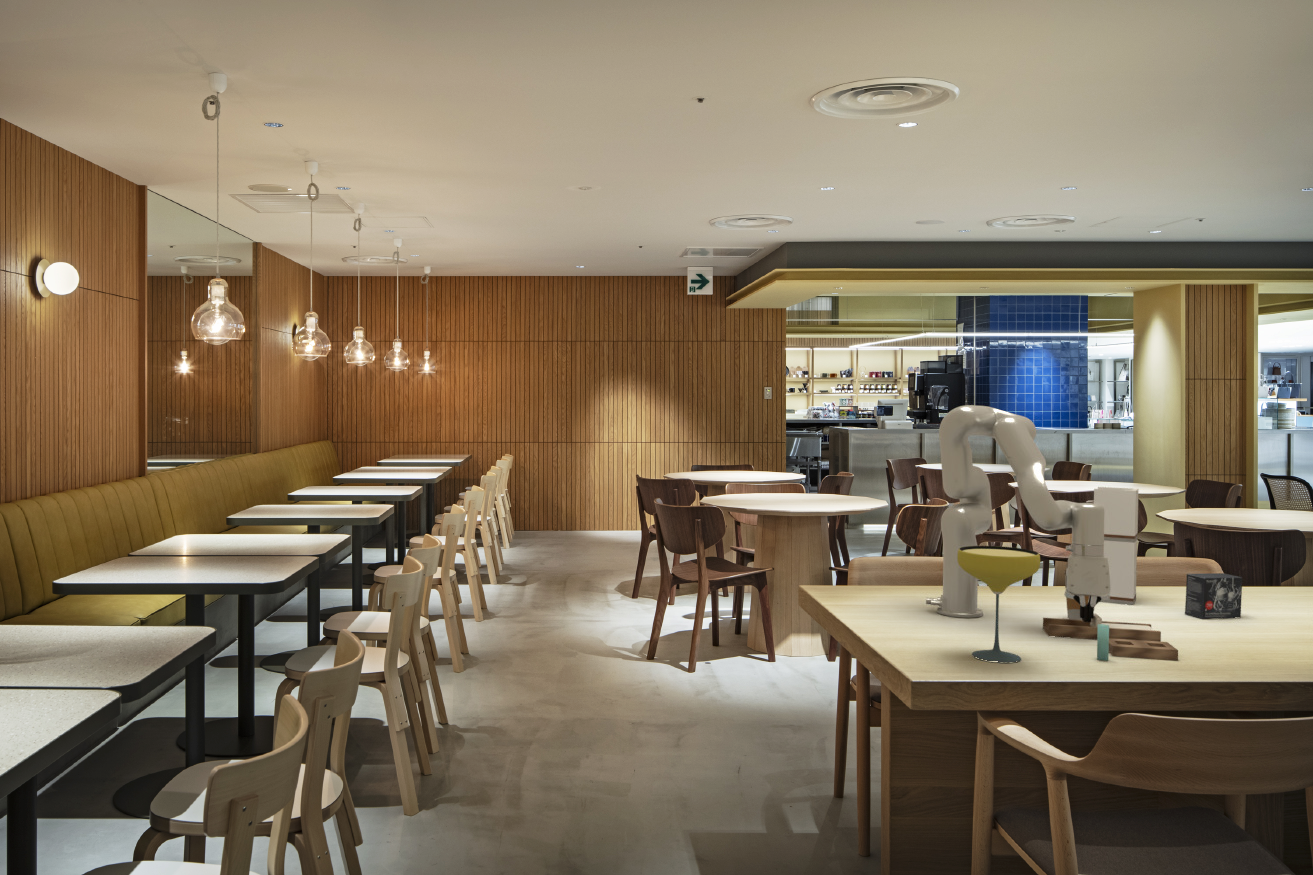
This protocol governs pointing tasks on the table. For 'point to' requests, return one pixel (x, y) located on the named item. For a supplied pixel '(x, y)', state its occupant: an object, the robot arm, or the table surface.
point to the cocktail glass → (998, 580)
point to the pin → (1103, 642)
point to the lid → (1098, 620)
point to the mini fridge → (1120, 540)
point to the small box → (1213, 595)
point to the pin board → (1142, 649)
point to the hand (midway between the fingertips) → (1086, 620)
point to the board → (1095, 630)
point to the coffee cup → (1074, 607)
